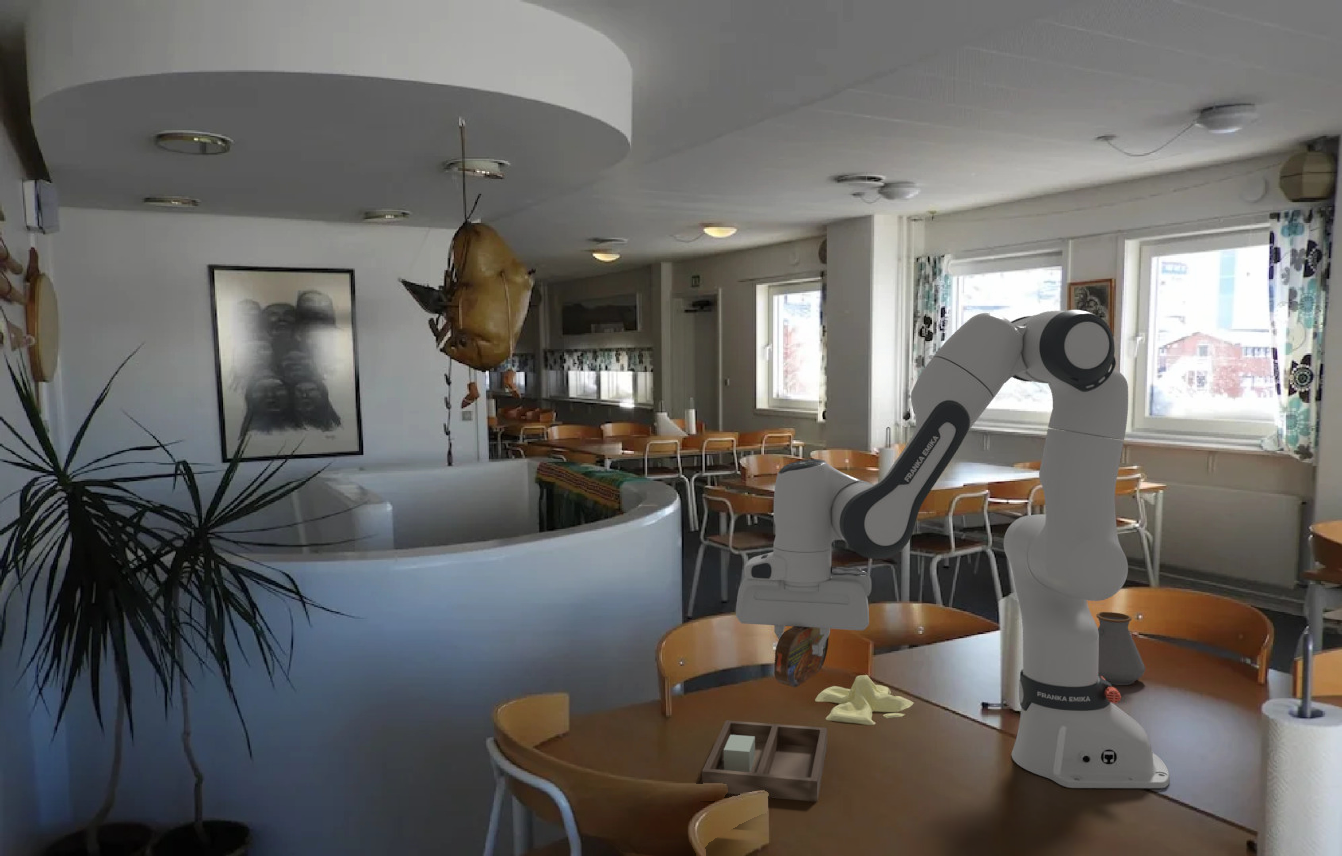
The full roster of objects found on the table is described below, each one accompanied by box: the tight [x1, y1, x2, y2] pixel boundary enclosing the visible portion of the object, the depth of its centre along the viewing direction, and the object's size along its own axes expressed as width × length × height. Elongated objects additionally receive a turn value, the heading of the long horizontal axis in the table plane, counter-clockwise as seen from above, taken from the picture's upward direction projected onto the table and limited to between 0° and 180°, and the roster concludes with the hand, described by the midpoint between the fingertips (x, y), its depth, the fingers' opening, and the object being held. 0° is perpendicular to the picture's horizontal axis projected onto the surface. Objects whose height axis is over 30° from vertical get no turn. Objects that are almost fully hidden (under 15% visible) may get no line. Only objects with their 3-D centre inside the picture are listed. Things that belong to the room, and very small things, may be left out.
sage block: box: [724, 735, 755, 772], centre depth 144 cm, size 4×6×4 cm, turn 166°
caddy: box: [701, 719, 828, 803], centre depth 143 cm, size 17×20×4 cm
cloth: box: [814, 674, 915, 726], centre depth 171 cm, size 22×19×6 cm
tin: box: [773, 626, 830, 688], centre depth 140 cm, size 15×3×8 cm, turn 147°
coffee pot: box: [1095, 611, 1146, 686], centre depth 181 cm, size 21×12×15 cm, turn 105°
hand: (802, 654), depth 140 cm, fingers closed on tin, 3 cm apart
